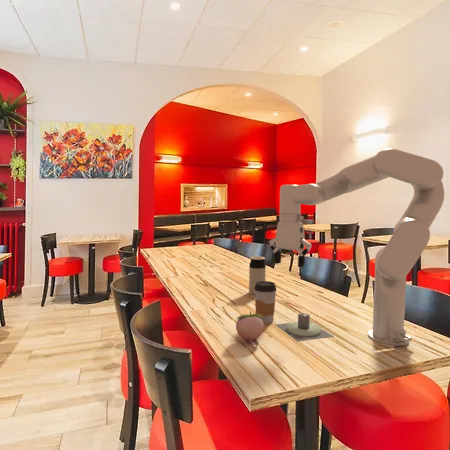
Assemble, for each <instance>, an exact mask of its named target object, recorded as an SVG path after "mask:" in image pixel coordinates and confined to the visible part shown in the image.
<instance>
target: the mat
mask: <svg viewBox="0 0 450 450" xmlns="http://www.w3.org/2000/svg"><path fill="white" fill-rule="evenodd" d="M289 323H290V322H287V323H286V322H285V323H277V324H275V326H277V328H279V329H280V330H282V331H283V332H284V333H286V335H288V336H290V337H291V338H292V339H294V340H295V341H296V342H303V341H304V342H305V341H311V340H319V339H325V338H334V337H335V336H334V335H333V334H331V333H329V332H328V331H327V330H324V329H323V328H321V334H319V335H317V336H313V337H302V336H297V335H293V334H291V333H289V332H288V331H287V330H286V326H287V324H289ZM310 323H312V322H311V321H310Z"/></svg>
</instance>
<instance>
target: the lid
mask: <svg viewBox="0 0 450 450" xmlns="http://www.w3.org/2000/svg"><path fill="white" fill-rule="evenodd" d="M310 316H311V315H310V314H308V313H304V312H300V313H298V314H297V321H292V322H288V323H289V324H287V326H286V330H287V331H288V332H289V333H291V334H293V335H297V336H302V337H313V336H317V335H319V334H321V329H322V327H321V326H319V325H317V324H316V323H313V322H311V321H310ZM310 322H311V323H310Z"/></svg>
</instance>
